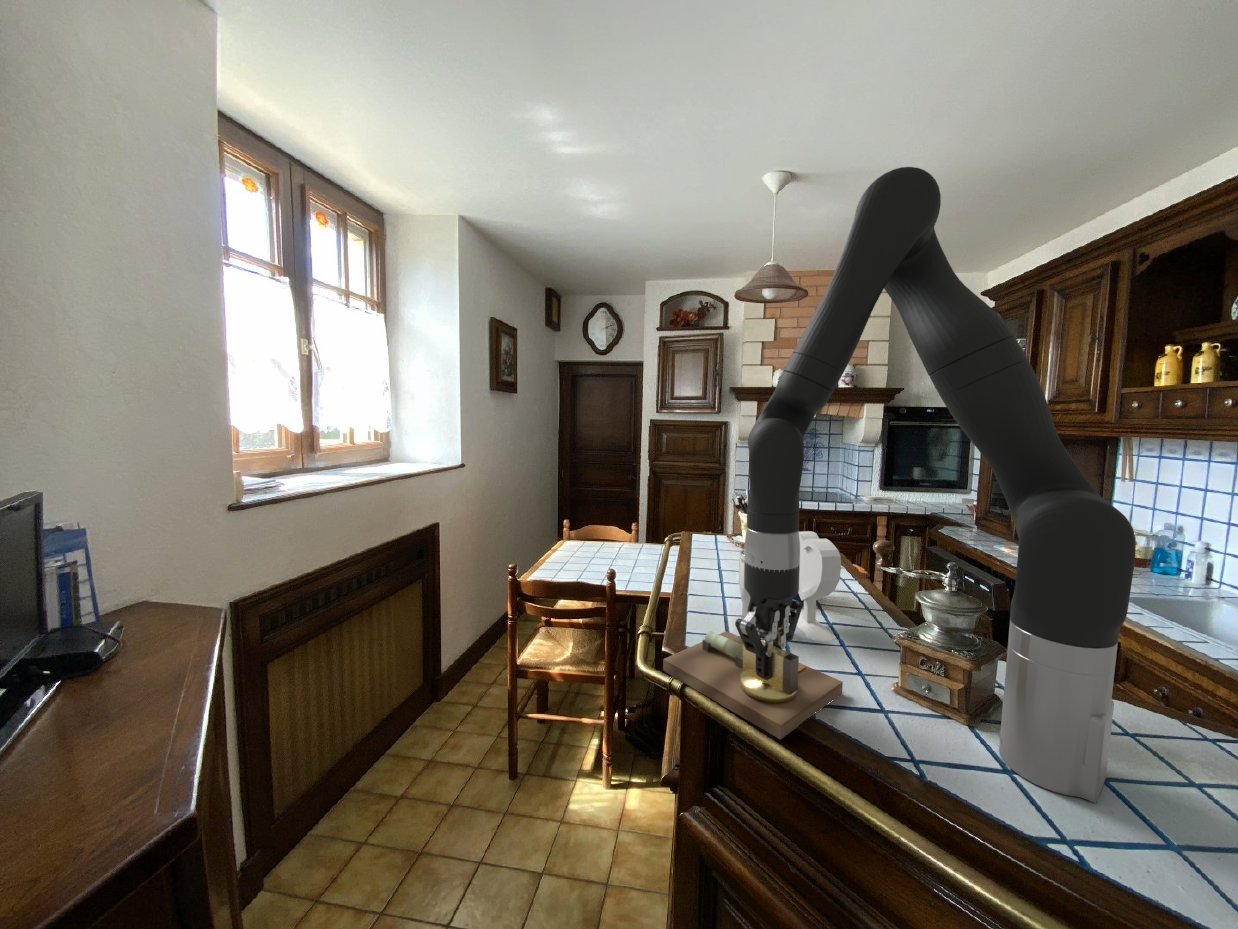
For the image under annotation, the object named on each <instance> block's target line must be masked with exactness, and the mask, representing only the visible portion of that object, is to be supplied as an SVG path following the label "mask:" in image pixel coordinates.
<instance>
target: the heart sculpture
mask: <svg viewBox="0 0 1238 929" xmlns="http://www.w3.org/2000/svg"><path fill="white" fill-rule="evenodd" d="M799 539H800V571H799V592H798V596H799V597H800V600H801V601H803V610H801V613H800V616H799V619H798V623H797V626H796V627H798V628H799V629H800V630H801V631H802V632H803V634H805V635H806V636H807V637H808V638H809V639H810V640H813V641H821V642H828V641H832V640H835V639H837V637H836V636H835V635H834V634H833V633H832V632H830V631H829V629H827V628H826V627H825V626H824V625H823V624H822V623H821V622H819V621H818V620H817V619H816V618H817V616H816V615H817V601H819V600H821V599H822V598H826V597H828V596H830V595H831V594H832V593H833V592H835V590H836V589H837V586H838V584H839V583H840V580H841V579H840V577H841V570H842V559H841V558H842V556H841V553H840V552H839V550H838V549H837V547H836V546H835V544H834V543H833V542H832V541H831V540H829V539H828V538H820V537H819V536H818V534H817V533H816V532H814V531H809V530H807V531H806V530H805V531H799ZM801 601H800V602H801ZM790 615H791V614H790Z"/></svg>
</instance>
